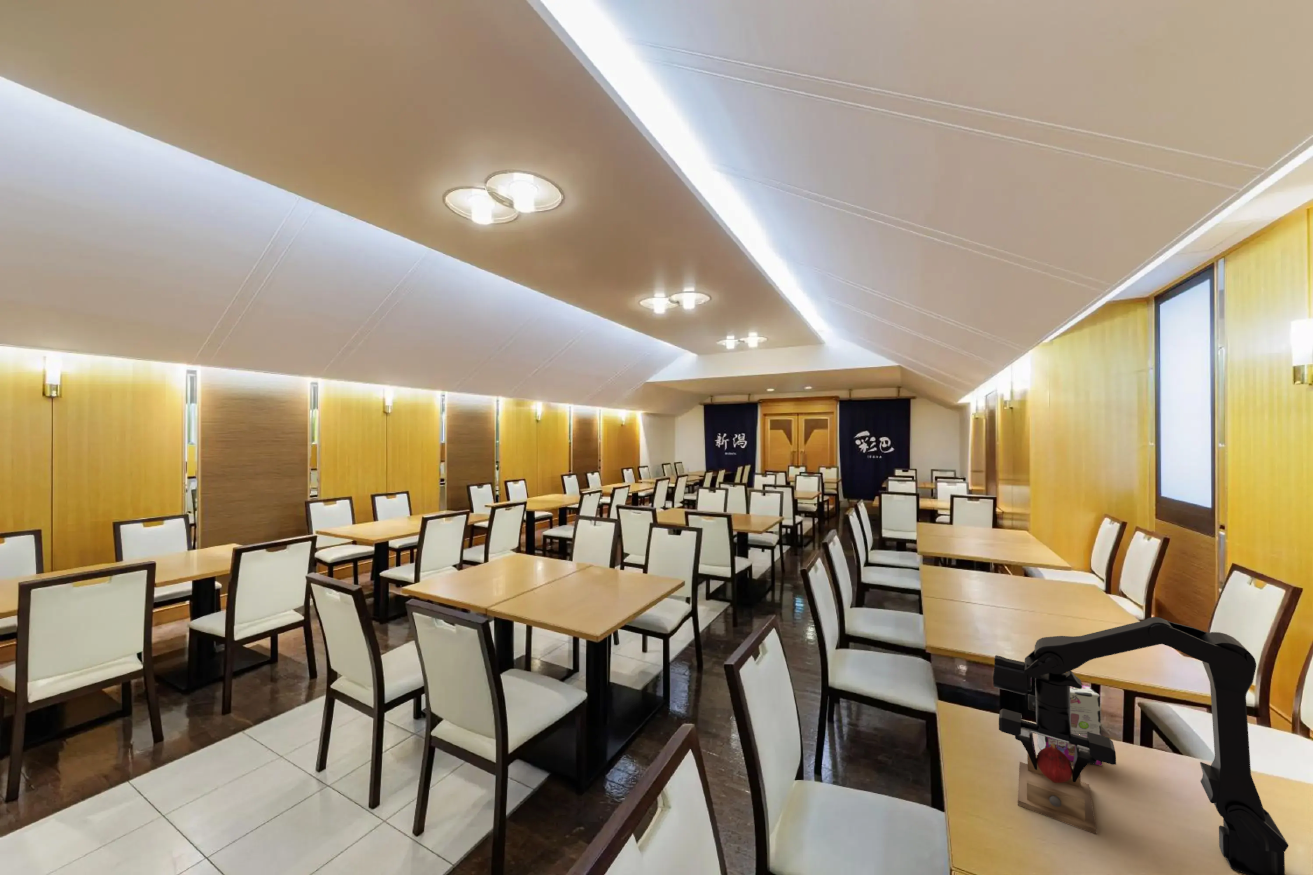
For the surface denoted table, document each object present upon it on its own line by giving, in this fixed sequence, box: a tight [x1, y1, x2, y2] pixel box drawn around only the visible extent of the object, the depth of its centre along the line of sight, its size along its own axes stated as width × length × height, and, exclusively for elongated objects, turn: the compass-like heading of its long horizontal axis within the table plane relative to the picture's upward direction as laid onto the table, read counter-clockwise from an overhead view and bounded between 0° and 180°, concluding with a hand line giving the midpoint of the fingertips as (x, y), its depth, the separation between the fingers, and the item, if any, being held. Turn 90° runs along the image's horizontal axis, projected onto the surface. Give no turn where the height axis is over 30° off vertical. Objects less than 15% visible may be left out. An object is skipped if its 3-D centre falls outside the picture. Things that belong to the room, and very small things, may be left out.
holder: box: [1017, 753, 1097, 835], centre depth 101 cm, size 12×15×4 cm
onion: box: [1036, 743, 1073, 783], centre depth 101 cm, size 6×6×8 cm
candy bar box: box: [1036, 685, 1103, 766], centre depth 114 cm, size 11×5×16 cm, turn 73°
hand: (1054, 774), depth 101 cm, fingers closed on onion, 6 cm apart
